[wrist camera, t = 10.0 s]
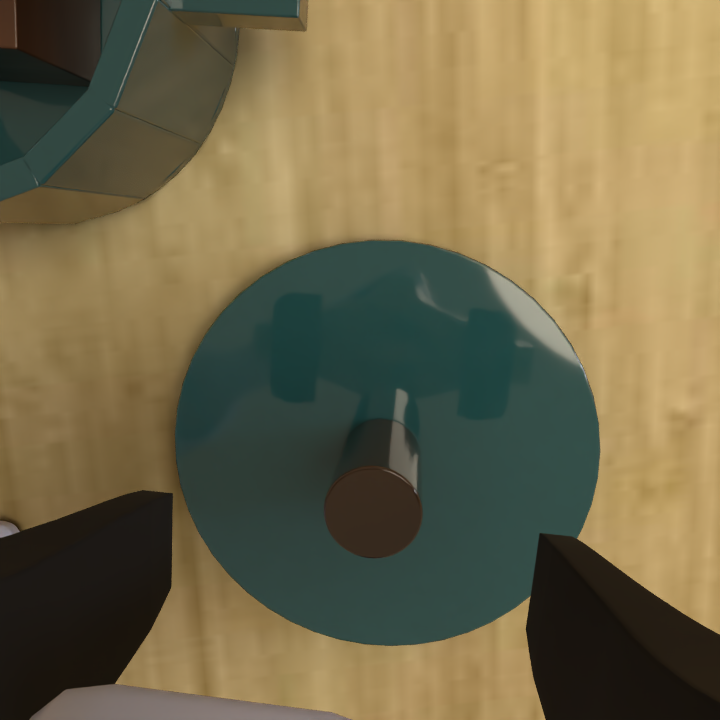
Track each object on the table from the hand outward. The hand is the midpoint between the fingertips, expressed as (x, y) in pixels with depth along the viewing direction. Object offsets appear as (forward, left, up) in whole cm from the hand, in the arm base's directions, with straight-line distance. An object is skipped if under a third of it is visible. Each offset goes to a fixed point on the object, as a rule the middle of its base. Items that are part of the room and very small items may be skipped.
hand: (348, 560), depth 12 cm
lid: (0, 0, -8) cm, 8 cm away
